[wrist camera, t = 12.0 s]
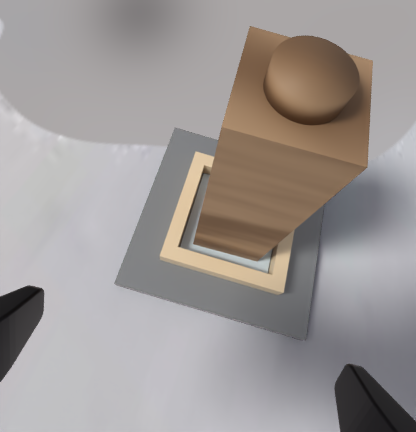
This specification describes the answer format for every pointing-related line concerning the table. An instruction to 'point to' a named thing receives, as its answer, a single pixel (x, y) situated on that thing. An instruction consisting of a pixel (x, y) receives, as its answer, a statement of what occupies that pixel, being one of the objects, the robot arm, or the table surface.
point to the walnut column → (284, 141)
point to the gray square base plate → (216, 252)
